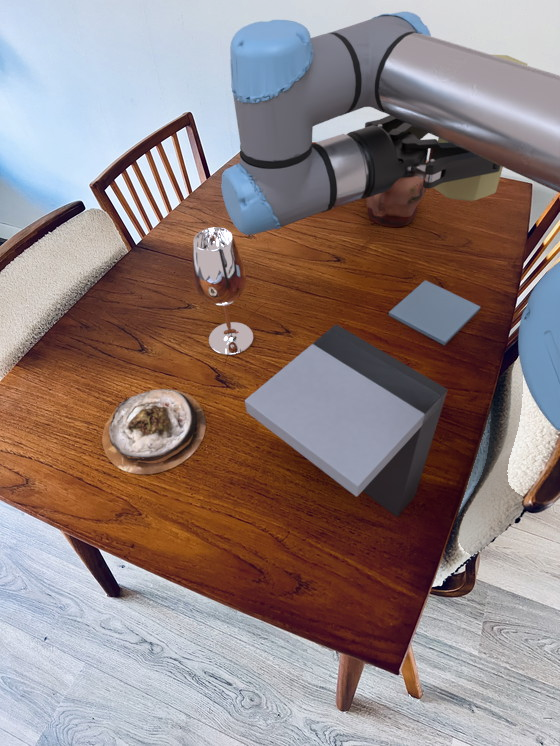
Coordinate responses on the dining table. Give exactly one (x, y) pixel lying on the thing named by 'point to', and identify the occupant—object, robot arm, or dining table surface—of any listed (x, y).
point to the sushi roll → (154, 431)
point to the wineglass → (221, 285)
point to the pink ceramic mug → (397, 202)
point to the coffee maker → (354, 415)
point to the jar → (474, 185)
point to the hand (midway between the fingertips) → (505, 119)
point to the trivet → (434, 312)
